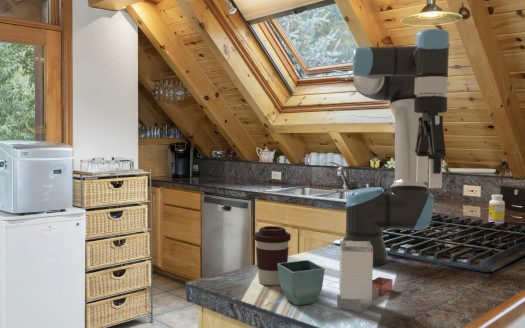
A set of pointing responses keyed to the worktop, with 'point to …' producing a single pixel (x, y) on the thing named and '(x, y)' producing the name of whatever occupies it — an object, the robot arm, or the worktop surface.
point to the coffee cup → (271, 252)
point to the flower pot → (301, 281)
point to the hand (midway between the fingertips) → (428, 184)
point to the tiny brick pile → (359, 305)
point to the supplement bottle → (496, 209)
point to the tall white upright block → (356, 269)
